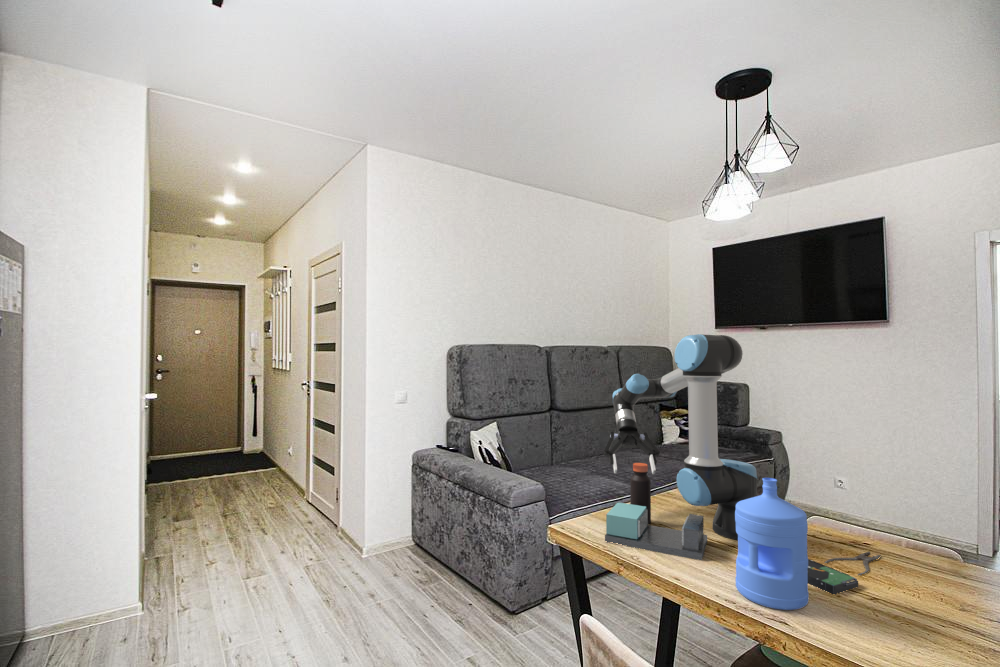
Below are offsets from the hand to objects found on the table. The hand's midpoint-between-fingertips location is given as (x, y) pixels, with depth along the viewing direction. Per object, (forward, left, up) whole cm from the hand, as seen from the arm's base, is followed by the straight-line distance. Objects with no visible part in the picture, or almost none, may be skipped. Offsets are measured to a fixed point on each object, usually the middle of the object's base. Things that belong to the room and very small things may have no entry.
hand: (634, 472), depth 177 cm
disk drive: (-53, +26, -17) cm, 61 cm away
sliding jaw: (-2, +20, -14) cm, 25 cm away
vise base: (-11, +20, -16) cm, 28 cm away
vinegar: (-3, +5, -16) cm, 17 cm away
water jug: (-42, +41, -16) cm, 61 cm away
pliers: (-63, +7, -16) cm, 66 cm away
